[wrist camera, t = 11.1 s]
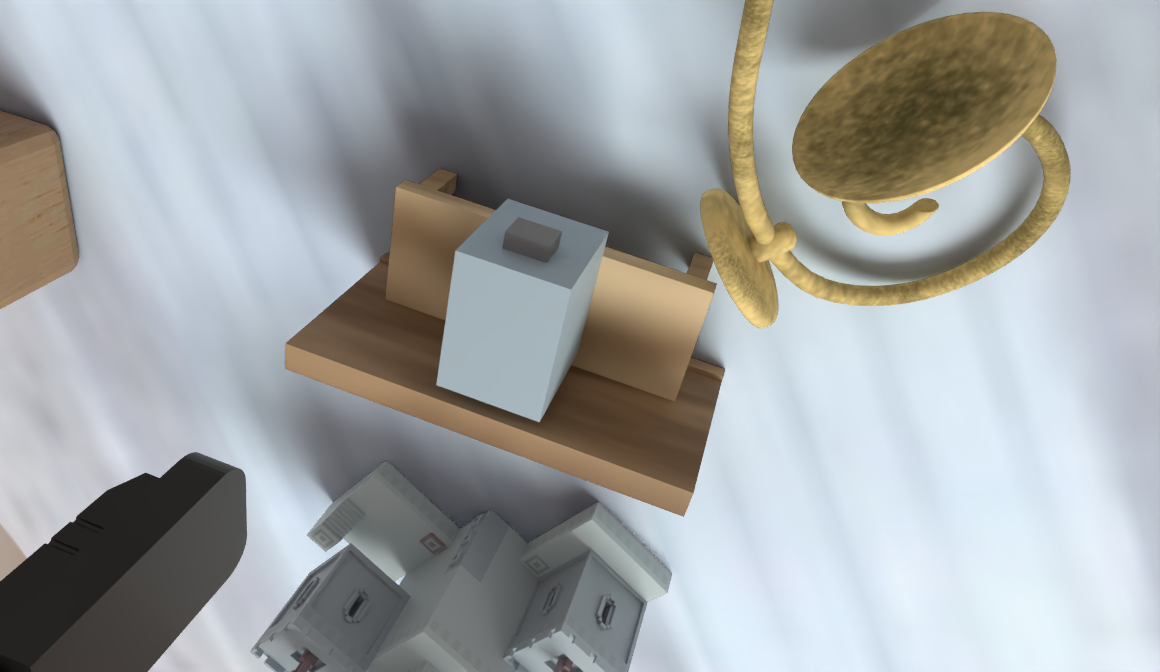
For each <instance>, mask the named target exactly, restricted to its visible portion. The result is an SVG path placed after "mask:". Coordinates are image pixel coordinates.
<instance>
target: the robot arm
mask: <svg viewBox="0 0 1160 672" xmlns="http://www.w3.org/2000/svg"><path fill="white" fill-rule="evenodd" d="M246 539H247V522H246V479H245V474H244V472H243V471H242V470H241V469H239V468H236V467H234V466H231V465H228V464H226V463H223V462H221V461H218V460H216V459H213V458H211V457H208V456H205V455H203V454H200V453H197V452H194V453H190V454H188V455H186V456H185V457H183V458H182V459H181V460H179V461H178V462H177V463H176V464H175V465H174V466H173V467H172V468H171V469H169V470H168V471H167V472H166V473H165V474H164V475H163V476H162V477H161V478H158V477H155V476H153V475H150V474H148V473H144V474H142V475H140V476H138V477H135V478H133V479H131V480H129V481H127V482H125V483H122V484H120V485H118V486H116V487H114V488H111V489H109V490H107V491H106V492H105V493H104V494H102V495H101V496H100V497H99V498H98V499H97V500H95V501H94V502H93V503H92V504H91V505H89V506H88V507H87V508H86V509H85V510H84V511H82V512H81V513H80V514H79V515H78V516H77V517H76V520H75V521H74V522H73V523H72V522H70V523H68V524H67V525H66V526H65V527H64V528H62V529H61V530H60V531H59V532H58V533H57V534H55V535H54V536H53V537H52V538H51V541H50V543H49V544H44V545H43V546H41V547H40V548H39V549H38V550H37V551H36V552H34V553H33V554H32V555H31V556H30V557H28V558H27V559H26V560H25V561H24V562H23V563H22V564H20V565H19V566H18V567H17V568H16V569H14V570H13V571H12V572H11V573H10V574H9V575H7V576H6V577H5V578H4V579H3V580H2V581H0V672H148V670H149V669H150V668H151V667H152V666H153V665H154V664H155V662H156V661H157V660H158V659H159V658H160V657H161V655H162V654H163V653H164V652H165V651H166V650H167V649H168V647H169V646H170V645H171V644H172V643H173V642H174V640H175V639H176V638H177V637H178V636H179V635H180V633H181V632H182V631H183V630H184V629H185V628H186V627H187V625H188V624H189V623H190V622H191V621H192V620H193V618H194V617H195V616H196V615H197V614H198V613H199V611H200V610H201V609H202V608H203V607H204V606H205V605H206V603H207V602H208V601H209V600H210V599H211V598H212V596H213V595H214V594H215V593H216V592H217V591H218V589H219V588H220V587H221V586H222V585H223V584H224V583H225V581H226V580H227V579H228V578H229V577H230V575H231V574H232V572H233V571H234V569H235V568H236V566H237V564H238V562H239V561H240V558H241V556H242V554H243V551H244V548H245V545H246Z"/></svg>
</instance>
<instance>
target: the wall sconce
mask: <svg viewBox="0 0 1160 672" xmlns="http://www.w3.org/2000/svg"><path fill="white" fill-rule="evenodd" d="M773 2H774V0H745V5H744V10H743V15H742V21H741V26H740V31H739V36H738V41H737V47H736V52H735V57H734V64H733V70H732V77H731V85H730V95H729V112H728V134H729V150H730V159H731V166H732V173H733V179H734V183H735V187H736V192H737V196H738V200H739V203H740V205H739V204H738V203H737V202H736V201H735V200H734V198H733V197H732V196H731V195H729V194H728V193H727V192H725V191H723V190H722V189H718V188H717V189H711V190H708V191H707V192H705V193H704V194H703V195H702V198H701V204H700V211H701V219H702V225H703V229H704V233H705V237H706V240H707V244H708V247H709V250H710V253H711V255H712V258H713V261H714V263H715V266H716V268H717V270H718V273H719V275H720V277H721V279H722V281H723V283H724V285H725V287H726V289H727V291H728V293H729V294H730V296H731V298H732V299H733V301H734V303H735V304H736V306H737V307H738V309H739V310H740V311H741V313H742V314H743V315H744V316H745V317H746V319H747V320H748V321H749V322H750V323H752V324H753V325H754V326H756V327H758V328H765V327H768V326H770V325H772V324H773V323H774V322H775V320H776V318H777V315H778V295H777V288H776V284H775V279H774V276H773V272H772V269H771V266H770V263H769V260H770V261H771V262H772V263H773V264H774V265H775V266H776V267H777V268H778V270H779V271H780V272H781V273H782V274H783V275H784V276H785V277H786V278H788V279H789V280H790V281H791V282H792V283H794V284H795V285H796V286H797V287H799V288H800V289H801V290H803V291H805V292H807V293H809V294H811V295H813V296H815V297H817V298H821V299H824V300H828V301H831V302H836V303H842V304H849V305H861V306H884V305H896V304H904V303H910V302H915V301H920V300H924V299H928V298H931V297H935V296H939V295H942V294H945V293H948V292H950V291H953V290H956V289H959V288H961V287H963V286H966V285H968V284H970V283H973V282H975V281H977V280H979V279H981V278H983V277H985V276H987V275H989V274H991V273H993V272H995V271H996V270H998V269H1000V268H1001V267H1003V266H1005V265H1007V264H1008V263H1009V262H1011V261H1012V260H1014V259H1015V258H1017V257H1018V256H1020V255H1021V254H1022V253H1023V252H1025V251H1026V250H1027V249H1028V248H1029V247H1031V246H1032V245H1033V244H1034V243H1035V242H1036V241H1037V240H1038V239H1039V238H1040V237H1041V236H1042V235H1043V234H1044V233H1045V232H1046V230H1047V229H1048V228H1049V227H1050V225H1051V224H1052V223H1053V221H1054V220H1055V219H1056V217H1057V215H1058V214H1059V212H1060V210H1061V208H1062V206H1063V204H1064V201H1065V199H1066V196H1067V193H1068V189H1069V184H1070V162H1069V158H1068V154H1067V151H1066V149H1065V146H1064V143H1063V141H1062V139H1061V137H1060V135H1059V134H1058V132H1057V131H1056V130H1055V128H1054V127H1053V126H1052V125H1051V124H1050V123H1049V122H1048V121H1047V120H1046V119H1045V118H1043V117H1042V116H1040V115H1039V113H1040V111H1041V110H1042V108H1043V106H1044V105H1045V103H1046V101H1047V99H1048V97H1049V95H1050V92H1051V90H1052V87H1053V83H1054V79H1055V75H1056V55H1055V50H1054V47H1053V45H1052V43H1051V41H1050V39H1049V37H1048V36H1047V35H1046V34H1045V32H1044V31H1043V30H1042V29H1040V28H1039V27H1038V26H1036V25H1035V24H1034V23H1032V22H1030V21H1028V20H1026V19H1024V18H1021V17H1017V16H1014V15H1010V14H1004V13H997V12H974V13H963V14H957V15H951V16H947V17H943V18H939V19H934V20H931V21H928V22H925V23H922V24H919V25H916V26H914V27H911V28H909V29H906V30H904V31H901V32H899V33H897V34H895V35H893V36H891V37H889V38H887V39H885V40H883V41H881V42H879V43H878V44H876V45H874V46H872V47H871V48H869V49H868V50H866V51H864V52H863V53H861V54H860V55H858V56H857V57H856V58H854V59H853V60H852V61H850V62H849V63H848V64H846V65H845V66H844V67H843V68H841V69H840V70H839V71H838V72H837V73H836V74H834V75H833V76H832V77H831V78H830V79H829V80H828V81H827V82H826V83H825V84H824V85H823V87H822V88H821V89H820V90H819V91H818V92H817V94H816V95H815V96H814V97H813V99H812V100H811V101H810V103H809V104H808V106H807V107H806V109H805V111H804V112H803V114H802V116H801V118H800V120H799V122H798V125H797V127H796V130H795V134H794V138H793V145H792V154H793V161H794V164H795V167H796V170H797V171H798V173H799V175H800V176H801V178H802V179H803V180H804V181H805V182H806V183H807V184H808V185H809V186H810V187H811V188H813V189H814V190H816V191H817V192H819V193H821V194H823V195H825V196H827V197H830V198H833V199H837V200H840V201H842V205H843V208H844V210H845V213H846V216H847V217H848V218H849V219H850V220H851V221H852V223H853V224H854V225H855V226H857V227H859V228H860V229H862V230H863V231H865V232H868V233H871V234H874V235H893V234H898V233H902V232H905V231H908V230H910V229H912V228H915V227H917V226H919V225H920V224H921V223H923V222H924V221H926V220H927V219H928V218H929V217H930V216H931V215H932V214H933V213H934V212H935V211H936V210H937V209H938V207H939V204H938V203H937V202H936V201H935V200H933V199H929V198H924V199H920V200H918V201H917V202H915V203H914V204H913V205H911V206H910V207H908V208H906V209H905V210H903V211H900V212H898V213H893V214H881V213H878V212H875V211H873V210H872V209H870V208H869V207H868V206H867V204H866V203H883V202H892V201H898V200H903V199H908V198H912V197H915V196H919V195H922V194H926V193H929V192H932V191H934V190H937V189H940V188H942V187H945V186H947V185H949V184H951V183H953V182H956V181H958V180H960V179H962V178H964V177H966V176H967V175H969V174H971V173H973V172H974V171H976V170H978V169H980V168H981V167H983V166H984V165H986V164H987V163H989V162H990V161H992V160H993V159H994V158H996V157H997V156H998V155H1000V154H1001V153H1002V152H1003V151H1005V150H1006V149H1007V148H1008V147H1009V146H1011V145H1012V144H1013V143H1014V142H1015V141H1016V140H1017V139H1018V138H1019V137H1020V136H1023V137H1024V138H1025V139H1026V140H1028V141H1029V142H1030V143H1031V145H1032V146H1033V147H1034V149H1035V151H1036V153H1037V154H1038V157H1039V159H1040V161H1041V164H1042V167H1043V173H1044V181H1043V188H1042V191H1041V195H1040V197H1039V199H1038V201H1037V203H1036V205H1035V207H1034V209H1033V210H1032V212H1031V213H1030V214H1029V216H1028V217H1027V218H1026V219H1025V221H1024V222H1023V223H1022V224H1021V225H1020V226H1019V227H1018V228H1017V229H1016V230H1015V231H1014V232H1013V233H1011V234H1010V235H1009V236H1008V237H1007V238H1006V239H1004V240H1003V241H1001V242H1000V243H999V244H997V245H996V246H995V247H993V248H991V249H990V250H988V251H986V252H985V253H983V254H981V255H980V256H978V257H976V258H974V259H972V260H970V261H968V262H966V263H964V264H962V265H960V266H957V267H955V268H953V269H951V270H948V271H945V272H943V273H940V274H937V275H934V276H931V277H928V278H925V279H921V280H917V281H912V282H908V283H902V284H895V285H884V286H859V285H850V284H844V283H838V282H835V281H832V280H828V279H825V278H823V277H821V276H819V275H817V274H815V273H813V272H811V271H810V270H809V269H808V268H806V267H805V266H804V265H803V264H802V263H801V262H799V261H798V260H797V259H796V257H795V256H794V255H793V254H792V253H791V251H790V250H791V249H793V248H795V246H796V243H797V235H796V232H795V230H794V228H793V227H792V226H791V225H790V224H788V223H785V222H781V223H778V224H776V225H774V226H773V224H772V222H771V220H770V218H769V216H768V214H767V211H766V209H765V206H764V203H763V200H762V197H761V193H760V189H759V184H758V179H757V175H756V166H755V158H754V148H753V110H754V99H755V91H756V83H757V78H758V72H759V66H760V61H761V57H762V52H763V47H764V43H765V38H766V33H767V29H768V24H769V20H770V15H771V11H772V6H773ZM740 206H741V207H740ZM768 259H769V260H768Z"/></svg>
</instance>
